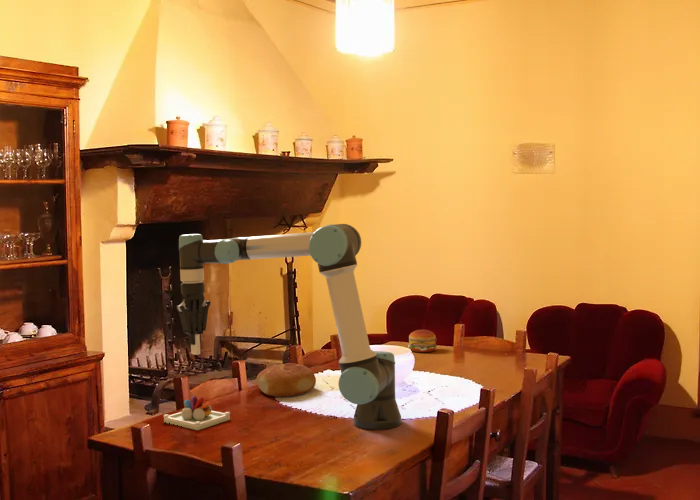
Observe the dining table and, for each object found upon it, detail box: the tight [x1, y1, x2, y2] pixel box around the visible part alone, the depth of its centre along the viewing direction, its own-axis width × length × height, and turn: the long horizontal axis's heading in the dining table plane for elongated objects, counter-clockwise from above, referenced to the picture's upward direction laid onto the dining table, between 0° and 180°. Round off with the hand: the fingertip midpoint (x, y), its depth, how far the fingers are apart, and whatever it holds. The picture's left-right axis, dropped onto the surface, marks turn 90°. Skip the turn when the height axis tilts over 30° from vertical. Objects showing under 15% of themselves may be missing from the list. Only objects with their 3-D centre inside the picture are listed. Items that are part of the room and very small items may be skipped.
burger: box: [407, 329, 438, 353], centre depth 363 cm, size 13×14×10 cm
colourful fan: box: [180, 395, 213, 421], centre depth 254 cm, size 8×10×7 cm
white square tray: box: [163, 410, 231, 431], centre depth 254 cm, size 17×15×2 cm
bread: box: [256, 362, 317, 398], centre depth 292 cm, size 23×23×10 cm
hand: (195, 354), depth 253 cm, fingers closed
